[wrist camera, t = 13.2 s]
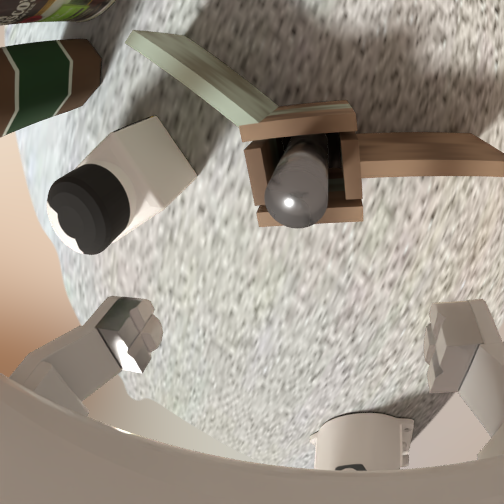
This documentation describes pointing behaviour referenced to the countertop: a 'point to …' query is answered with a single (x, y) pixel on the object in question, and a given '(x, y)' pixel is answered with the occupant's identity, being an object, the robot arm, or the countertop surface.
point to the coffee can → (51, 10)
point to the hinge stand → (313, 131)
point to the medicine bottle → (118, 186)
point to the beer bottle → (45, 80)
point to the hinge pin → (300, 182)
